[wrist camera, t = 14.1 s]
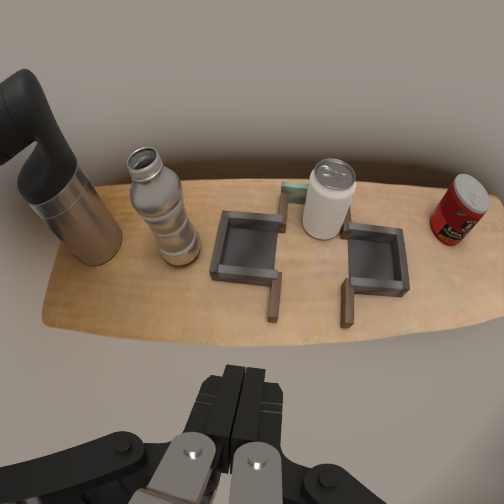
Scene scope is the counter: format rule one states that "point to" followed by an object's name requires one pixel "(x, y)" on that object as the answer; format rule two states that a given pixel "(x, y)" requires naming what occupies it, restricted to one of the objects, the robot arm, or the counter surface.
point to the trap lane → (262, 272)
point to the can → (328, 198)
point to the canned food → (459, 209)
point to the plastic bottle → (162, 206)
